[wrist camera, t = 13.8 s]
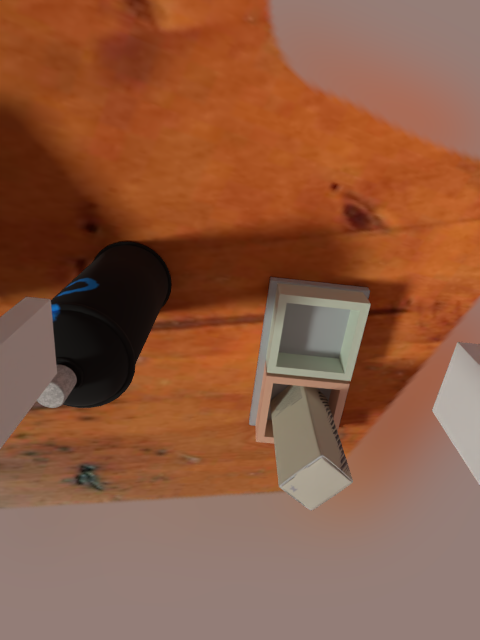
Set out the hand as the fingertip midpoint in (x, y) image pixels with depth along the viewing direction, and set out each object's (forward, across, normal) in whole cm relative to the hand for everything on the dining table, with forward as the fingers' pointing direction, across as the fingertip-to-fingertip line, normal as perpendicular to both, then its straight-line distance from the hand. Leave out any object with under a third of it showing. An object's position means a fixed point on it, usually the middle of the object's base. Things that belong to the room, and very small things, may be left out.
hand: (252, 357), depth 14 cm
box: (+28, +8, -20) cm, 36 cm away
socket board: (+29, +8, -16) cm, 34 cm away
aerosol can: (+29, -11, -9) cm, 32 cm away
